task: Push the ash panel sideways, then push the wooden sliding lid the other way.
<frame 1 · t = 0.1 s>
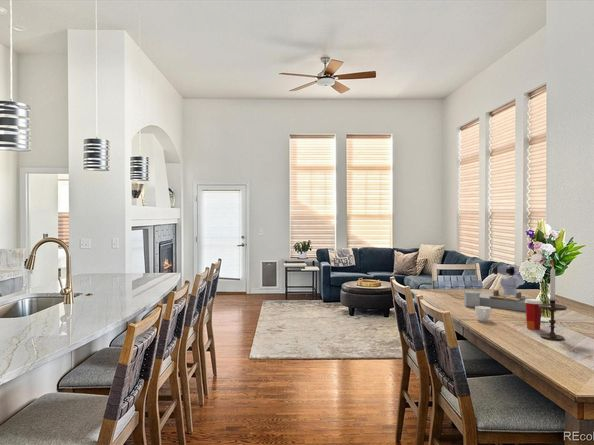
hand: (500, 270, 276), 22 cm above the table, tool horizontal, fingers open, 7 cm apart
paper cup: (533, 329, 219), on the table
cup: (483, 321, 236), on the table
ash panel: (514, 295, 272), point 7 cm above the table, slide at 0.0 cm
medicine box: (471, 306, 275), on the table
wooden sliding lid: (500, 293, 277), point 7 cm above the table, slide at 0.0 cm
candlestick: (552, 338, 202), on the table
lid box: (507, 306, 275), on the table
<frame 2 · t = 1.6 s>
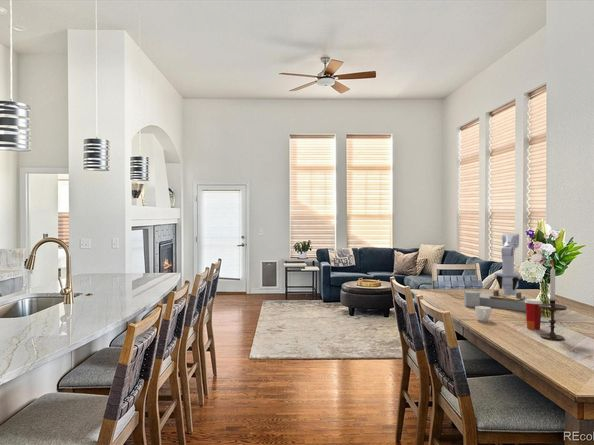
hand: (507, 289, 275), 10 cm above the table, tool pointing down, fingers open, 7 cm apart
nothing on the table moved.
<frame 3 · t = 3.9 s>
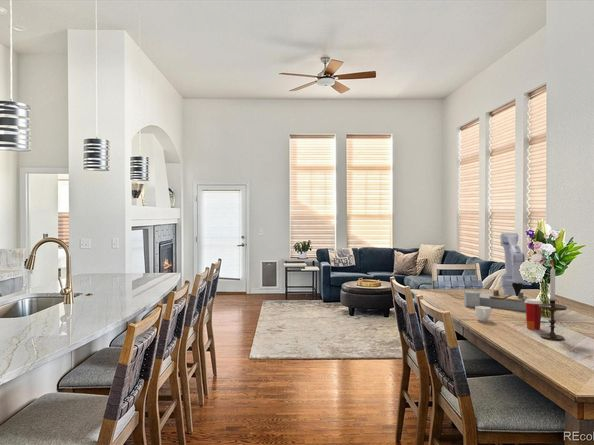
hand: (517, 296, 271), 7 cm above the table, tool pointing down, fingers closed
ash panel: (516, 295, 271), point 7 cm above the table, slide at 1.2 cm, touching gripper
everything else where it was.
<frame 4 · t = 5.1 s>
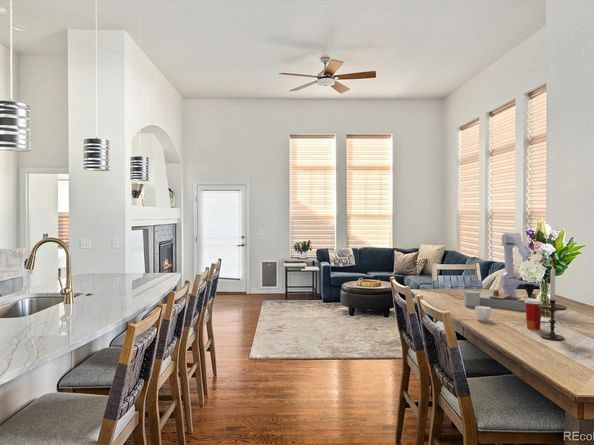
hand: (529, 297, 266), 7 cm above the table, tool pointing down, fingers closed
ash panel: (528, 297, 267), point 7 cm above the table, slide at 7.8 cm, touching gripper
everything else where it was.
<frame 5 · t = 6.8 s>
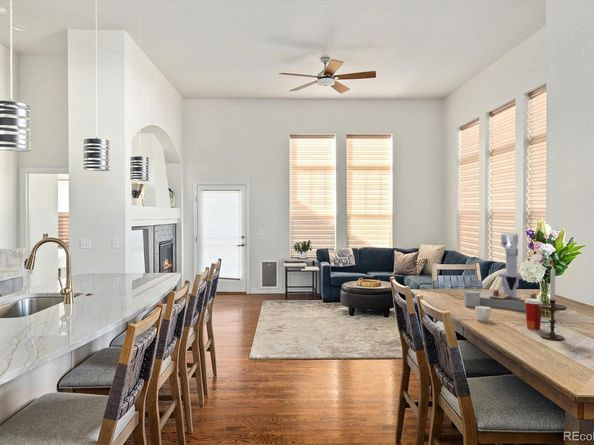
hand: (511, 289, 273), 10 cm above the table, tool pointing down, fingers closed
ash panel: (528, 297, 267), point 7 cm above the table, slide at 7.9 cm
everything else where it was.
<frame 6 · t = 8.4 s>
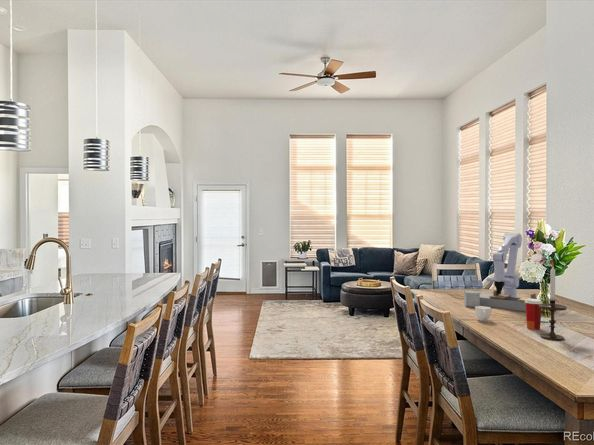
hand: (499, 294, 278), 7 cm above the table, tool pointing down, fingers closed
wooden sliding lid: (500, 293, 277), point 7 cm above the table, slide at 0.0 cm, touching gripper
everything else where it was.
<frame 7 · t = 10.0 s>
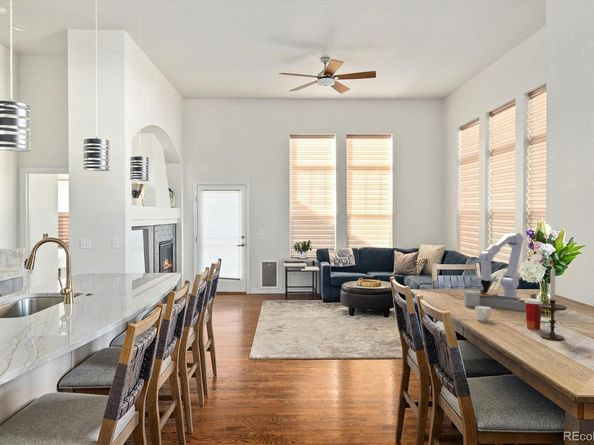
hand: (485, 292, 283), 7 cm above the table, tool pointing down, fingers closed
wooden sliding lid: (486, 292, 283), point 7 cm above the table, slide at 7.9 cm, touching gripper
everything else where it was.
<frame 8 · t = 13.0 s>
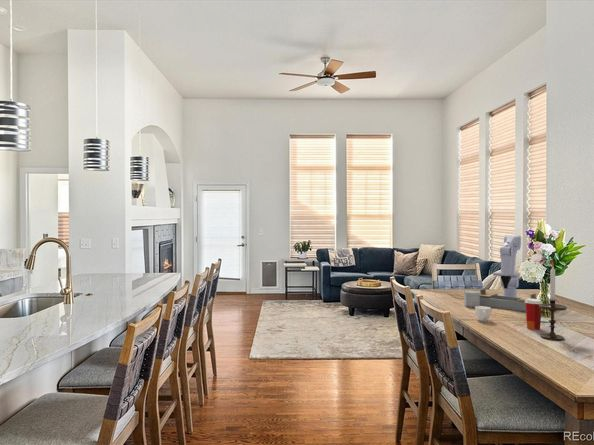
hand: (505, 288, 279), 10 cm above the table, tool pointing down, fingers closed
wooden sliding lid: (486, 292, 283), point 7 cm above the table, slide at 7.9 cm
everything else where it was.
at the end: ash panel slide at 7.9 cm; wooden sliding lid slide at 7.9 cm; medicine box moved 0.3 cm from its start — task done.
